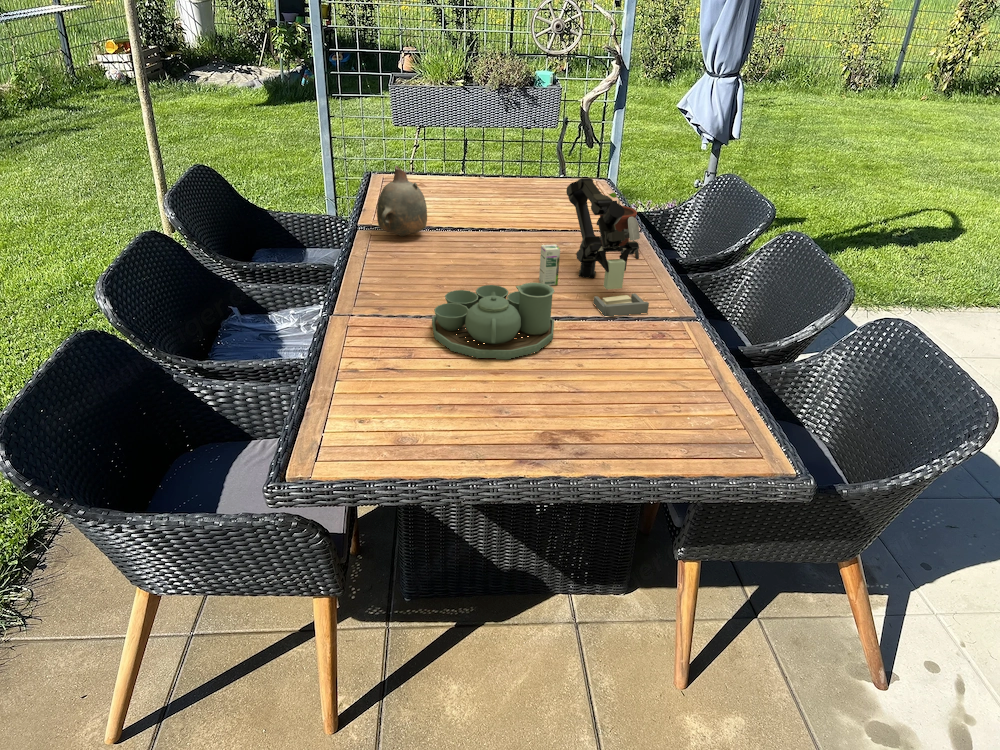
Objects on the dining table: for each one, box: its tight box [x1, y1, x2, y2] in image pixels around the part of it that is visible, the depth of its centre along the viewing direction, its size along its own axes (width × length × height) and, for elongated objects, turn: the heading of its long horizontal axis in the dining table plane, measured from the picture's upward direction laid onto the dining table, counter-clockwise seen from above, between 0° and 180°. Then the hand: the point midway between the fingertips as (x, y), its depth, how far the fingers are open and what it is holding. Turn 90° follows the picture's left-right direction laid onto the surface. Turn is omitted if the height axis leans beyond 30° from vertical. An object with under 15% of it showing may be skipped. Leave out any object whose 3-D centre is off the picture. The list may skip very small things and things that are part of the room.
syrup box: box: [538, 243, 561, 286], centre depth 261 cm, size 6×6×14 cm
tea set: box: [431, 282, 555, 360], centre depth 223 cm, size 40×40×16 cm
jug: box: [376, 165, 428, 237], centre depth 297 cm, size 24×21×30 cm
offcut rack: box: [592, 293, 650, 317], centre depth 245 cm, size 11×16×4 cm
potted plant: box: [599, 188, 641, 259], centre depth 294 cm, size 18×22×25 cm
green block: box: [603, 258, 626, 290], centre depth 248 cm, size 3×6×10 cm, turn 105°
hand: (616, 271), depth 246 cm, fingers closed on green block, 6 cm apart
